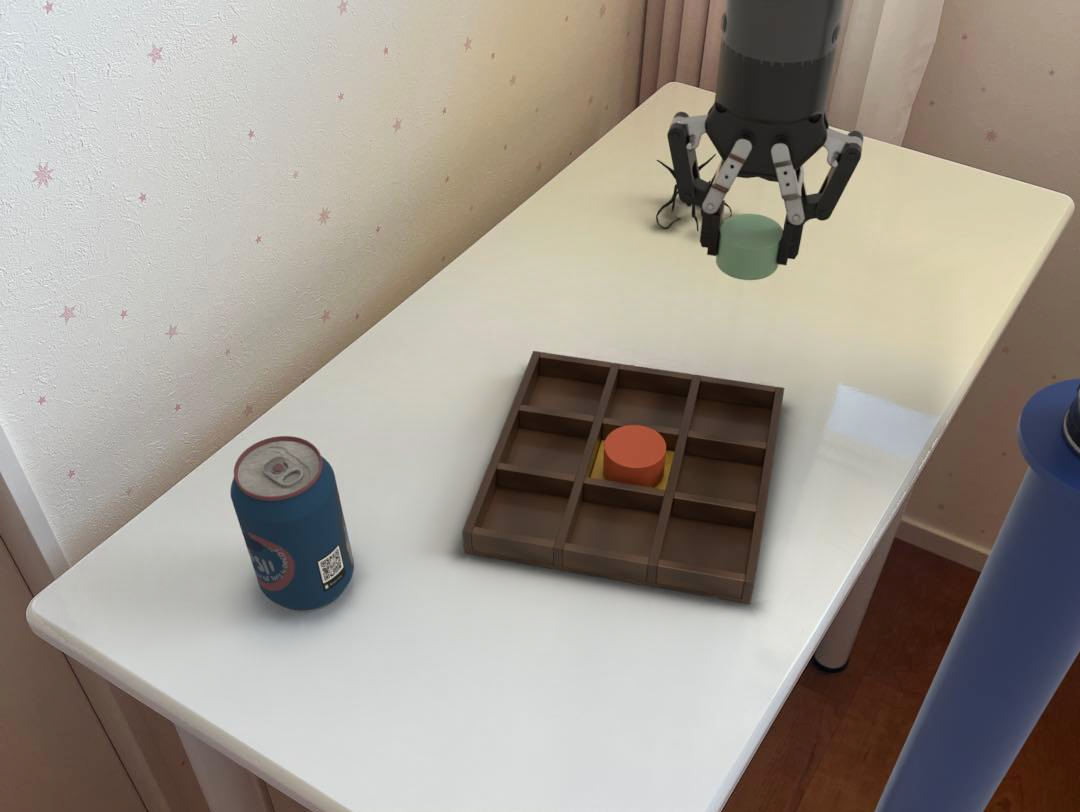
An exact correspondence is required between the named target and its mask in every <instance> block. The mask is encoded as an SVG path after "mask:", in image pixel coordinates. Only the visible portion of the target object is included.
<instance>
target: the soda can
mask: <svg viewBox="0 0 1080 812" xmlns="http://www.w3.org/2000/svg"><path fill="white" fill-rule="evenodd" d="M229 493H230V499H231V502H232V506H233V508H234V511H235V514H236V517H237V521H238V524H239V528H240V530H241V533H242V536H243V540H244V543H245V546H246V549H247V552H248V555H249V558H250V561H251V564H252V567H253V570H254V573H255V577H256V581H257V583H258V586H259V589H260V590H261V592H262V594H263V595H264V596H266V597H267V598H268V599H269V600H270V601H271V602H273V603H274V604H276V605H278V606H280V607H283V608H285V609H287V610H290V611H295V612H313V611H317V610H321V609H323V608H326V607H328V606H329V605H331V604H333V603H334V602H335V601H336V600H337V599H338V598H339V597H340V596H341V595H342V594H343V593H344V591H345V590H346V588H347V587H348V586H349V584H350V582H351V580H352V578H353V575H354V570H355V561H354V556H353V551H352V546H351V543H350V538H349V533H348V529H347V524H346V520H345V516H344V510H343V506H342V502H341V497H340V493H339V489H338V483H337V479H336V475H335V471H334V469H333V467H332V465H331V464H330V463H329V461H328V460H327V459H326V458H325V457H324V456H322V455H321V452H320V450H319V449H318V448H317V447H316V446H315V445H314V444H313V443H311V442H310V441H309V440H306V439H304V438H301V437H299V436H298V437H297V436H292V435H280V436H273V437H268V438H265V439H262V440H260V441H257V442H255V443H253V444H252V445H250V446H249V447H247V448H246V449H245V450H244V451H243V452H242V453H241V454H240V455H239V456H238V458H237V460H236V461H235V464H234V467H233V478H232V481H231V485H230V492H229Z"/></svg>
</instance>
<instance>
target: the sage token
mask: <svg viewBox="0 0 1080 812" xmlns="http://www.w3.org/2000/svg"><path fill="white" fill-rule="evenodd" d="M723 221H724V222H722V224H721V227H720V231H719V240H718V248H717V255H716V256H715V264H716V266H717V269H719V270H720V271H721V272H722V273H723V274H725V275H727V276H729V277H731V278H733V279H737V280H742V281H758V280H762V279H766V278H768V277H770V276H772V275H773V274H774V273H775V272H776V271H777V269H778V267H779V264H778V258H779V252H780V246H781V240H782V234H783V227H782V226H781V225H780V223H779V222H777V220H774V219H773V218H771V217H768V216H765V215H762V214H759V213H741V214H734V215H732V216H731V217H730V216H729V217H728V218H726V219H724V220H723Z"/></svg>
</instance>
